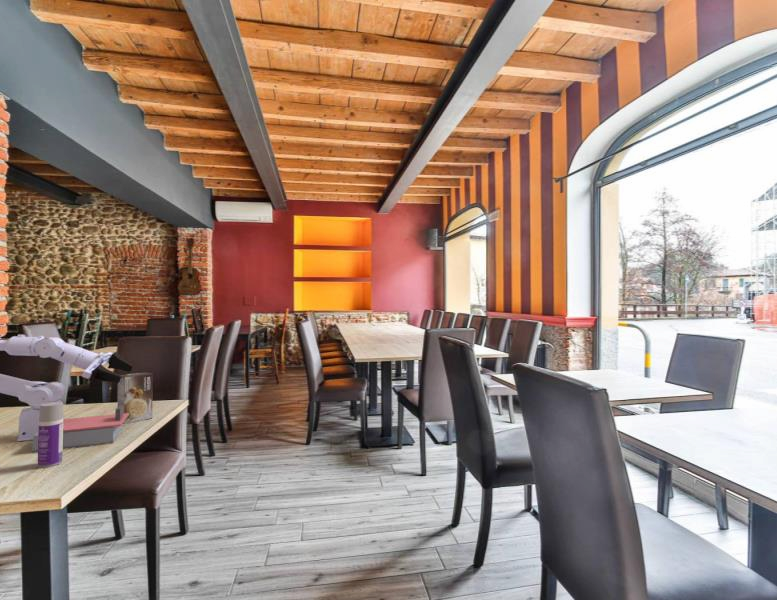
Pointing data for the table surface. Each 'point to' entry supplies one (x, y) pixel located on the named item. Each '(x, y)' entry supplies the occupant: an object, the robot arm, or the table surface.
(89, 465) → the table surface
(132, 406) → the coffee box
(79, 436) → the carton
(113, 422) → the lid
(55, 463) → the container
